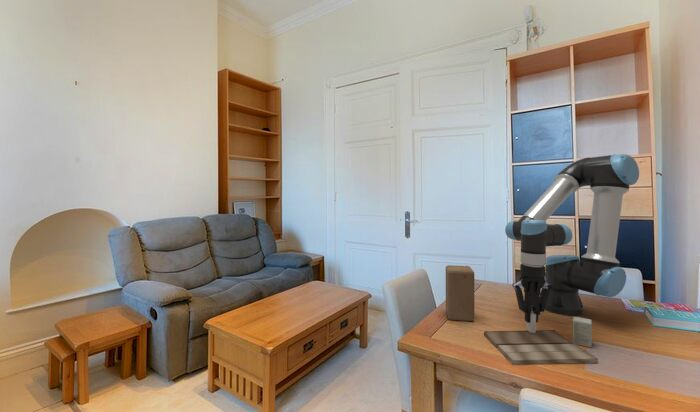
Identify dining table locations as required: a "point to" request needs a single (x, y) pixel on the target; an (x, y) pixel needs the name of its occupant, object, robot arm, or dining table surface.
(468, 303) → the wooden block
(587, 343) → the small box
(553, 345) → the laid board
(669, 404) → the dining table surface
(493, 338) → the plank
